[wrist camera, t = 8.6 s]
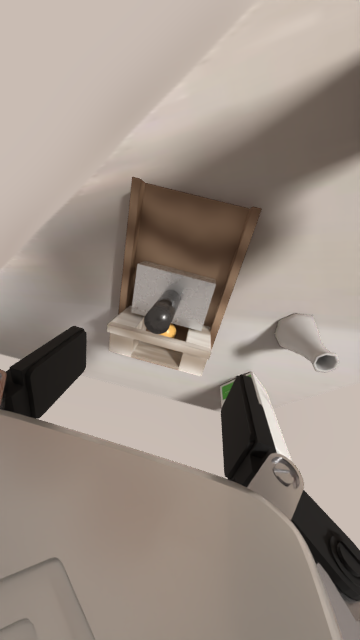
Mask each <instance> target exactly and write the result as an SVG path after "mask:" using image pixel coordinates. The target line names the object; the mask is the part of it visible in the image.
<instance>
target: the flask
mask: <svg viewBox="0 0 360 640" xmlns="http://www.w3.org/2000/svg"><path fill="white" fill-rule="evenodd" d="M275 336H276V339H277V341H278V343H279V345H280V346H281V347H283V348H286V349H288V350H291V351H293V352H295V353H298V354H300V355H302V356H304V357H305V358H306V359H308V360H309V361H311V363H312V364H313V367H314V369H315V371H318V372H324V373H326V372H329V371H332V370H335V369H336V367H337V366H338V364H339V359H338V357H337V355H336V354H335V353H331V352H330V351H328V350H327V349H326V347H325V346H324V344H323V343H322V341H321V338H320V334H319V331H318V328H317V325H316V323H315V320H314V318H313V316H312V315H304V314H297V313H295V314H293V315H291V316H288V317H286V318H284V319H281V320H279V322H278V325H277V328H276V331H275Z"/></svg>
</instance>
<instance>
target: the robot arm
mask: <svg viewBox="0 0 360 640" xmlns="http://www.w3.org/2000/svg"><path fill="white" fill-rule="evenodd" d="M85 368H86V332H84V329H83V328H79V327H76V326H72V327H71V328H69V329H68V330H66V331H65V332H63V333H62V334H60V335H58V336H57V337H55V338H54V339H52V340H51V341H49V342H48V343H46V344H45V345H43V346H42V347H40V348H39V349H37V350H35V351H34V352H32V353H31V354H29V355H28V356H26V357H25V358H23V359H22V360H20V361H19V362H17V363H15V364H14V365H12V366H11V367H10V369H9V370H8V371H6V372H5V371H3V370H1V369H0V640H360V550H359V549H358V548H357V547H356V545H355V544H354V543H353V542H352V541H351V540H350V539H349V538H348V536H346V534H345V533H344V532H343V531H342V530H341V529H340V528H339V527H338V526H337V525H336V524H335V523H334V522H333V521H332V520H331V519H330V518H329V516H328V515H327V514H326V513H325V512H324V511H323V510H322V509H321V508H320V507H319V506H318V505H317V504H316V503H315V501H314V500H313V499H312V498H311V497H310V496H309V495H308V494H307V493H306V492H305V491H304V490H303V489H304V482H303V478H302V476H301V473H300V471H299V470H298V468H297V467H296V466H295V465H294V464H293V462H292V461H291V460H289V459H288V458H287V457H285V456H283V455H281V454H278V453H277V451H276V448H275V445H274V441H273V438H272V435H271V432H270V428H269V425H268V422H267V418H266V415H265V412H264V409H263V406H262V405H261V404H259V401H258V398H257V394H256V391H255V387H254V384H253V380H252V378H251V377H249V376H246V375H242V374H241V375H240V376H237V377H236V379H235V381H234V383H233V385H232V387H231V389H230V391H229V393H228V395H227V397H226V400H225V402H224V404H223V406H222V409H221V421H222V438H223V456H224V473H225V477H227V478H228V479H225V478H223V477H219V476H216V475H213V474H211V473H207V472H205V471H202V470H199V469H196V468H192V467H189V466H187V465H183V464H180V463H177V462H174V461H171V460H168V459H165V458H161V457H158V456H155V455H152V454H149V453H146V452H143V451H139V450H136V449H133V448H130V447H126V446H123V445H120V444H116V443H113V442H110V441H107V440H104V439H101V438H97V437H94V436H91V435H88V434H84V433H81V432H78V431H75V430H71V429H68V428H64V427H61V426H58V425H55V424H52V423H48V422H45V421H42V420H38V419H36V418H40V417H41V416H42V415H43V414H44V413H45V412H46V411H47V410H48V409H49V408H50V407H51V406H52V405H53V404H54V402H55V401H56V400H57V399H58V398H59V397H60V396H61V395H62V394H63V393H64V392H65V391H66V390H67V389H68V388H69V386H70V385H71V384H72V383H73V382H74V381H75V380H76V379H77V378H78V377H79V376H80V375H81V374H82V373H83V372H84V370H85Z"/></svg>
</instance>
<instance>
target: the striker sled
mask: <svg viewBox="0 0 360 640" xmlns="http://www.w3.org/2000/svg"><path fill="white" fill-rule="evenodd" d="M215 286H216V281H215V279H213V278H209V277H205V276H201V275H198V274H194V273H190V272H186V271H182V270H178V269H175V268H171V267H167V266H163V265H159V264H155V263H151V262H148V261H144V262H141V263H138V264H137V271H136V279H135V287H134V294H133V302H132V310H131V312H132V313H135V314H139V315H143V316H145V317H144V324H145V327H146V328H147V329H148V330H149V331H150V332H152V333H154V334H163V333H165V332H166V331H167V330H168V329H169V327H170V324H171V323H172V324H176V325H180V326H184V327H187V328H191V329H195V330H198V331H202V327H203V324H204V321H205V318H206V315H207V312H208V308H209V305H210V302H211V299H212V296H213V293H214V289H215Z"/></svg>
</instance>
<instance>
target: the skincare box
mask: <svg viewBox="0 0 360 640" xmlns="http://www.w3.org/2000/svg"><path fill="white" fill-rule="evenodd" d="M246 376H249V377H251V378H252V380H253V384H254V387H255V391H256V394H257V398H258V401H259V404H261V405H262V406H263V409H264V412H265V415H266V418H267V422H268V425H269V428H270V432H271V435H272V438H273V441H274V445H275V448H276V451H277V453H278V454H281V455H283V456H285V457H287V458H288V459H289V460H291V457H290V455H289V452H288V449H287V446H286V444H285V441H284V438H283V435H282V433H281V430H280V427H279V424H278V421H277V419H276V416H275V413H274V410H273V408H272V405H271V402H270V399H269V396H268V393H267V391H266V389H265V388H264V387H263V385H262V384H261V383H260V381H259V380H258V378H257V377H256V376H255V374H254V373H253V372H250V373H248V374H246ZM234 381H235V379H234V380H232V381H230V382H228V383H225V384H223V385H221V386H220V396H221V409H222V406H223V404H224V402H225V400H226V397H227V395H228V393H229V391H230V389H231V387H232V385H233V383H234ZM291 461H292V460H291Z"/></svg>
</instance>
